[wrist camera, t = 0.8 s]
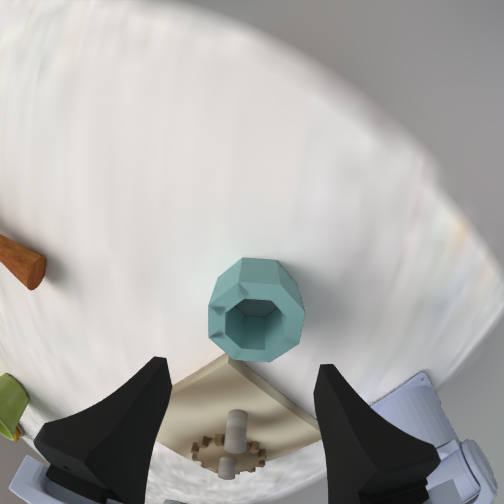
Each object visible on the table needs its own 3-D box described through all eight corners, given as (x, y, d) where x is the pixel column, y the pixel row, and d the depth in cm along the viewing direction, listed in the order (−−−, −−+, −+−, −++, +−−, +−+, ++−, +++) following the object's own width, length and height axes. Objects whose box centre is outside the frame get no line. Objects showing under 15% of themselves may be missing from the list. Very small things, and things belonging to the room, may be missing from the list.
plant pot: (-5, 373, 27) (-30, 401, 19) (1, 355, 25) (-30, 387, 17) (31, 412, 29) (10, 443, 21) (42, 401, 27) (17, 438, 19)
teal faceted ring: (310, 299, 20) (320, 329, 16) (252, 339, 21) (250, 373, 17) (260, 242, 19) (261, 263, 15) (201, 290, 20) (189, 319, 16)
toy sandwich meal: (-2, 415, 34) (-10, 426, 30) (-21, 382, 30) (-31, 393, 26) (31, 440, 35) (24, 453, 30) (13, 410, 31) (3, 423, 26)
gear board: (325, 426, 25) (333, 465, 19) (221, 466, 28) (217, 498, 23) (229, 350, 21) (221, 400, 16) (128, 410, 25) (112, 445, 20)
